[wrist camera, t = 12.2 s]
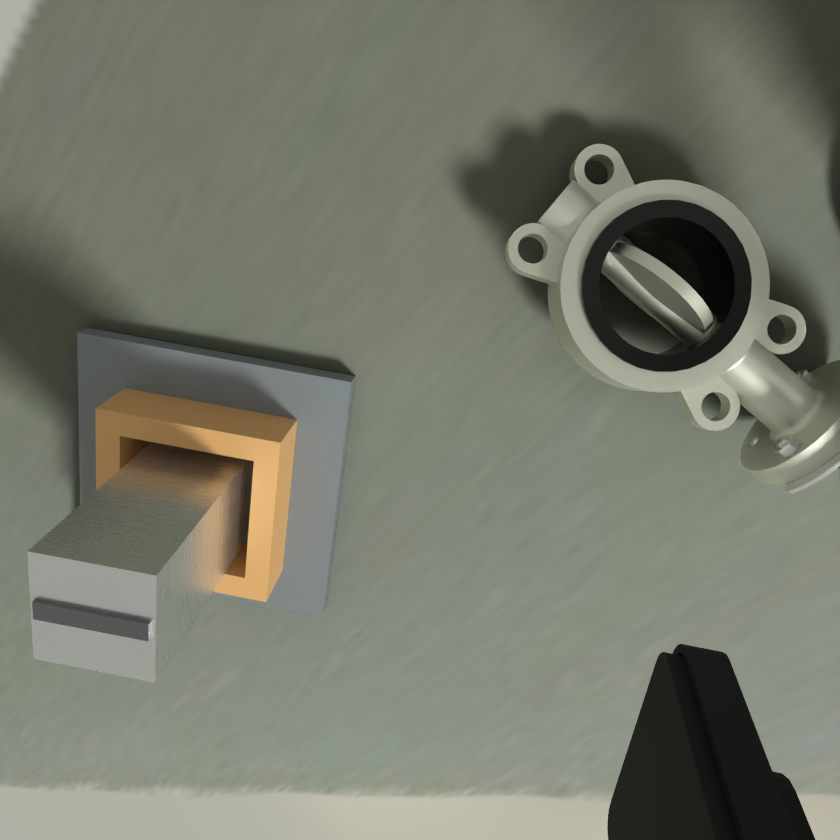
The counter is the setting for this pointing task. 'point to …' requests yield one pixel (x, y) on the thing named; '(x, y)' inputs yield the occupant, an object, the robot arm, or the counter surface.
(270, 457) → the collar plate
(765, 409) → the butterfly valve
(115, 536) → the block
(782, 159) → the counter surface
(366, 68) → the counter surface
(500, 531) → the counter surface
